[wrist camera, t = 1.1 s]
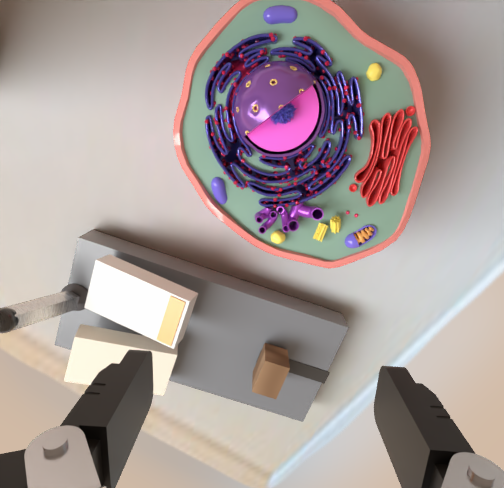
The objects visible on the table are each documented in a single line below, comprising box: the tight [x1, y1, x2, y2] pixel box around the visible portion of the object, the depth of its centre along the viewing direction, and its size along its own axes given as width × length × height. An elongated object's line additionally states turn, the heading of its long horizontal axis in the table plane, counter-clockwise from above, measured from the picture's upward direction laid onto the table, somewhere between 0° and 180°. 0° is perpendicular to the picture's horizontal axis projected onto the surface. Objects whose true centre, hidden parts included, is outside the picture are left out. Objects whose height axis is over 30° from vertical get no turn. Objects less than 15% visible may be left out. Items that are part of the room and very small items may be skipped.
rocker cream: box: [64, 324, 178, 396], centre depth 34 cm, size 9×5×2 cm, turn 70°
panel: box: [55, 230, 349, 422], centre depth 37 cm, size 28×12×3 cm, turn 71°
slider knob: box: [252, 343, 290, 399], centre depth 34 cm, size 2×4×3 cm, turn 161°
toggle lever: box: [0, 290, 79, 333], centre depth 31 cm, size 2×2×7 cm
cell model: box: [173, 0, 431, 268], centre depth 28 cm, size 17×20×11 cm
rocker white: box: [84, 254, 198, 349], centre depth 32 cm, size 9×5×2 cm, turn 71°
